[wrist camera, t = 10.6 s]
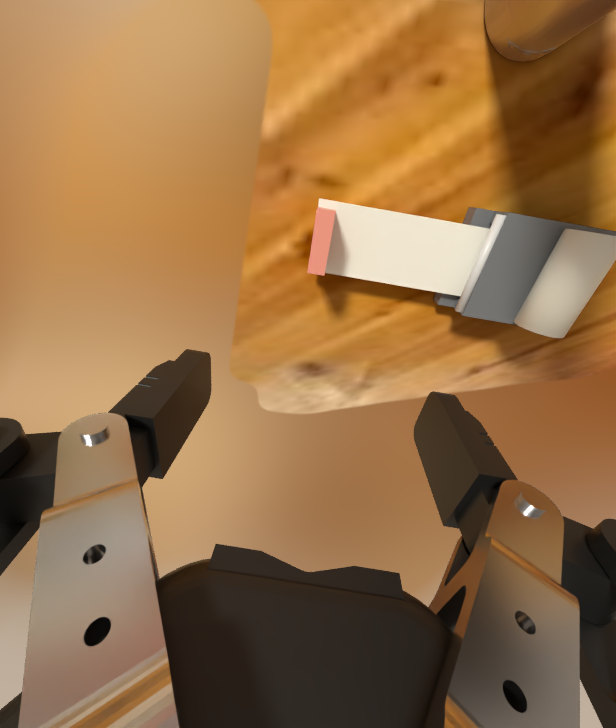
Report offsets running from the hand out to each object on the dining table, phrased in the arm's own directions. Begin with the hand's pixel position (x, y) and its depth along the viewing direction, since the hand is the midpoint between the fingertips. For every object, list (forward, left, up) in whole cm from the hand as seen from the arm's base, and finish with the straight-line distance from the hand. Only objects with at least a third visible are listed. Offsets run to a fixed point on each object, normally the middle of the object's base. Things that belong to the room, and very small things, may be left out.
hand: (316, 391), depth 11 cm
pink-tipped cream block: (-2, +8, -28) cm, 29 cm away
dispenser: (-2, +22, -30) cm, 37 cm away
